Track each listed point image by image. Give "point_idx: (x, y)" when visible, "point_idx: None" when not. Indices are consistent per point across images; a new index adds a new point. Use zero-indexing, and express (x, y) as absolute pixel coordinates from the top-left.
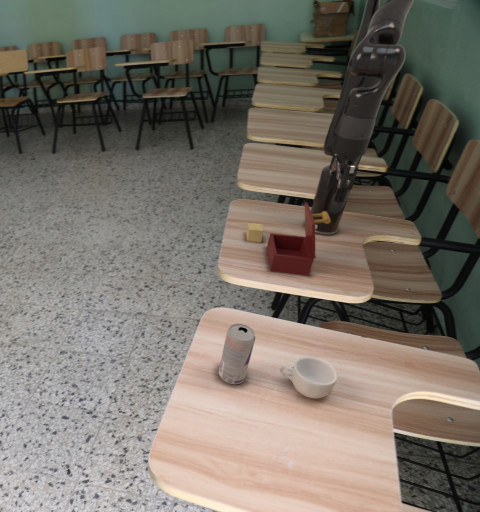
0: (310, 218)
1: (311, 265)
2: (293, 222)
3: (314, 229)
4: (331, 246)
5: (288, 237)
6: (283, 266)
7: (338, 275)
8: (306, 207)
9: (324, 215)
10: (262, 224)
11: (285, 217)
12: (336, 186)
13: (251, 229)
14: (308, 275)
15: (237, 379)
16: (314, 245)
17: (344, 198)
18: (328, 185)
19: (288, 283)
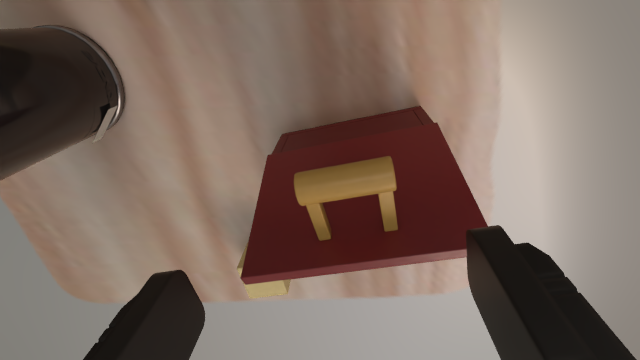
0: (431, 261)
1: (429, 117)
2: (100, 168)
3: (482, 217)
4: (185, 41)
5: None
6: None
7: (382, 8)
8: (298, 277)
9: (350, 197)
10: (237, 269)
11: (85, 192)
12: (169, 283)
13: (286, 289)
14: (420, 106)
15: None
16: (453, 159)
17: (514, 246)
18: (195, 335)
19: (482, 156)
